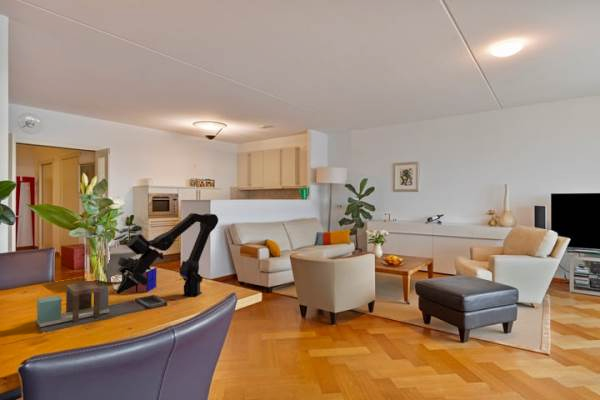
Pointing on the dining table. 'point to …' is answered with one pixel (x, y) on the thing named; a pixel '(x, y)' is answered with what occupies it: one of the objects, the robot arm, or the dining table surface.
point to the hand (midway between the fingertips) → (117, 293)
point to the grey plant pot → (115, 255)
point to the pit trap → (151, 302)
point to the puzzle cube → (150, 285)
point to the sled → (52, 312)
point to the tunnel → (82, 298)
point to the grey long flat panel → (113, 312)
